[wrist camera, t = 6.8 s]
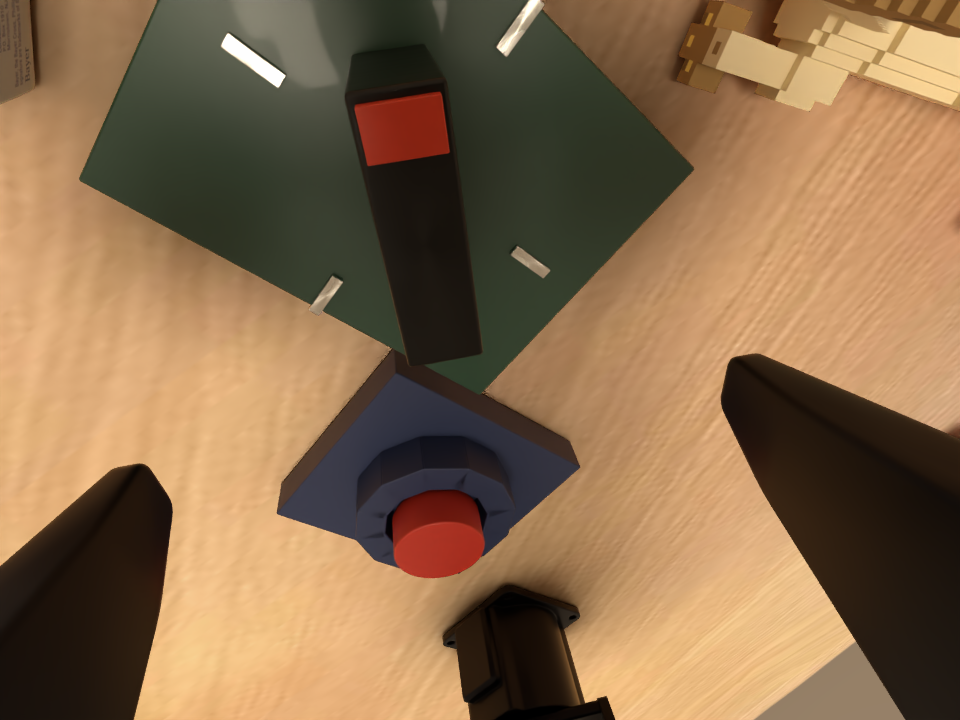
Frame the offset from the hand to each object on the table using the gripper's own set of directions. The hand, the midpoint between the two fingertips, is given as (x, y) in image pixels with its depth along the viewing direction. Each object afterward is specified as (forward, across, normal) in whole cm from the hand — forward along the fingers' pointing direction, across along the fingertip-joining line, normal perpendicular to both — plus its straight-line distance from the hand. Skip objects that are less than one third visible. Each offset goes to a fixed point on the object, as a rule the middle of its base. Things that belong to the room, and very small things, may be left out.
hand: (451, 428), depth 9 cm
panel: (+12, 0, -1) cm, 12 cm away
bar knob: (+9, 0, -1) cm, 9 cm away
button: (+9, +1, +13) cm, 16 cm away
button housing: (+12, +1, +13) cm, 18 cm away
